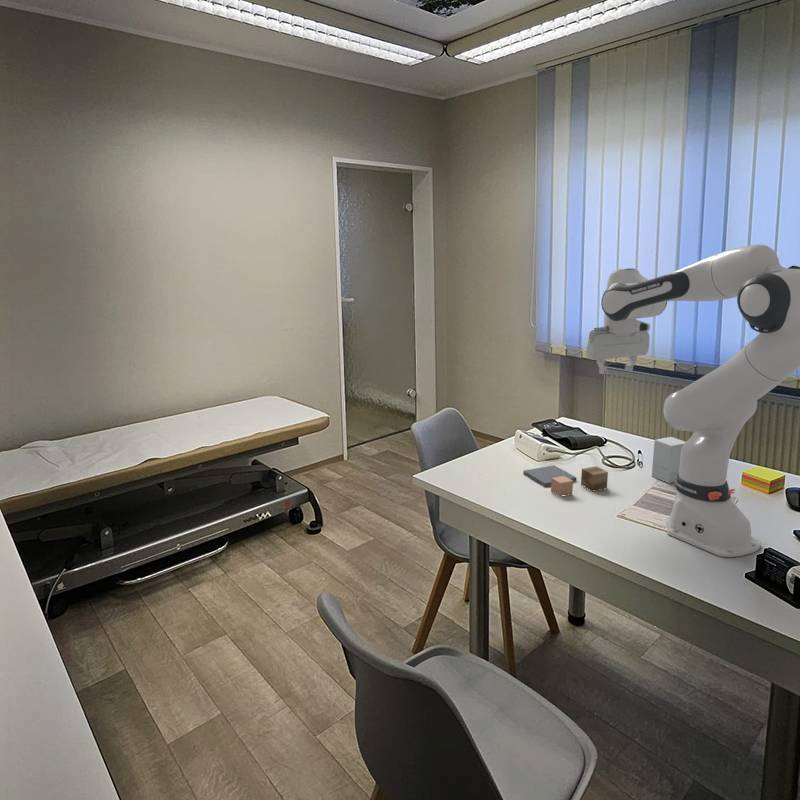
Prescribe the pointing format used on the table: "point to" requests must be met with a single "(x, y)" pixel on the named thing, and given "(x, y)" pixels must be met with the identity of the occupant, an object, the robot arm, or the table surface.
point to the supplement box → (667, 459)
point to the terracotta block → (562, 485)
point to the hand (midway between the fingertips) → (615, 372)
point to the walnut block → (594, 478)
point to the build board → (547, 474)
